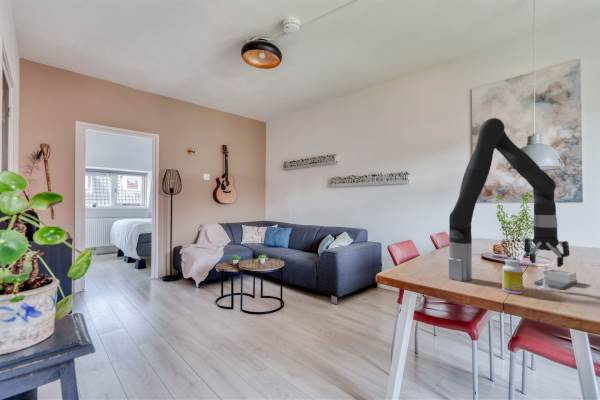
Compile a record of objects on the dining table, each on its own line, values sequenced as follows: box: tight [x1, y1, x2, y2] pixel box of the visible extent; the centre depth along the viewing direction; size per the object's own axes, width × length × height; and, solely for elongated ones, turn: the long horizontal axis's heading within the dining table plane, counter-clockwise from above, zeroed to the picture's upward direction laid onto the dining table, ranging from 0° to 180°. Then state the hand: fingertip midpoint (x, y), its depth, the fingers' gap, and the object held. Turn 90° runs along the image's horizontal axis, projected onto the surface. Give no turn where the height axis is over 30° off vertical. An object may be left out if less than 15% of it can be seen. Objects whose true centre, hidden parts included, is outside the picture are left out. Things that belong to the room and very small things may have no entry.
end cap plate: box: [533, 268, 578, 291], centre depth 128 cm, size 20×9×5 cm, turn 122°
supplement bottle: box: [501, 258, 524, 295], centre depth 116 cm, size 7×7×13 cm
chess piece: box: [537, 265, 554, 293], centre depth 119 cm, size 5×5×10 cm
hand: (546, 264), depth 119 cm, fingers open, 8 cm apart
